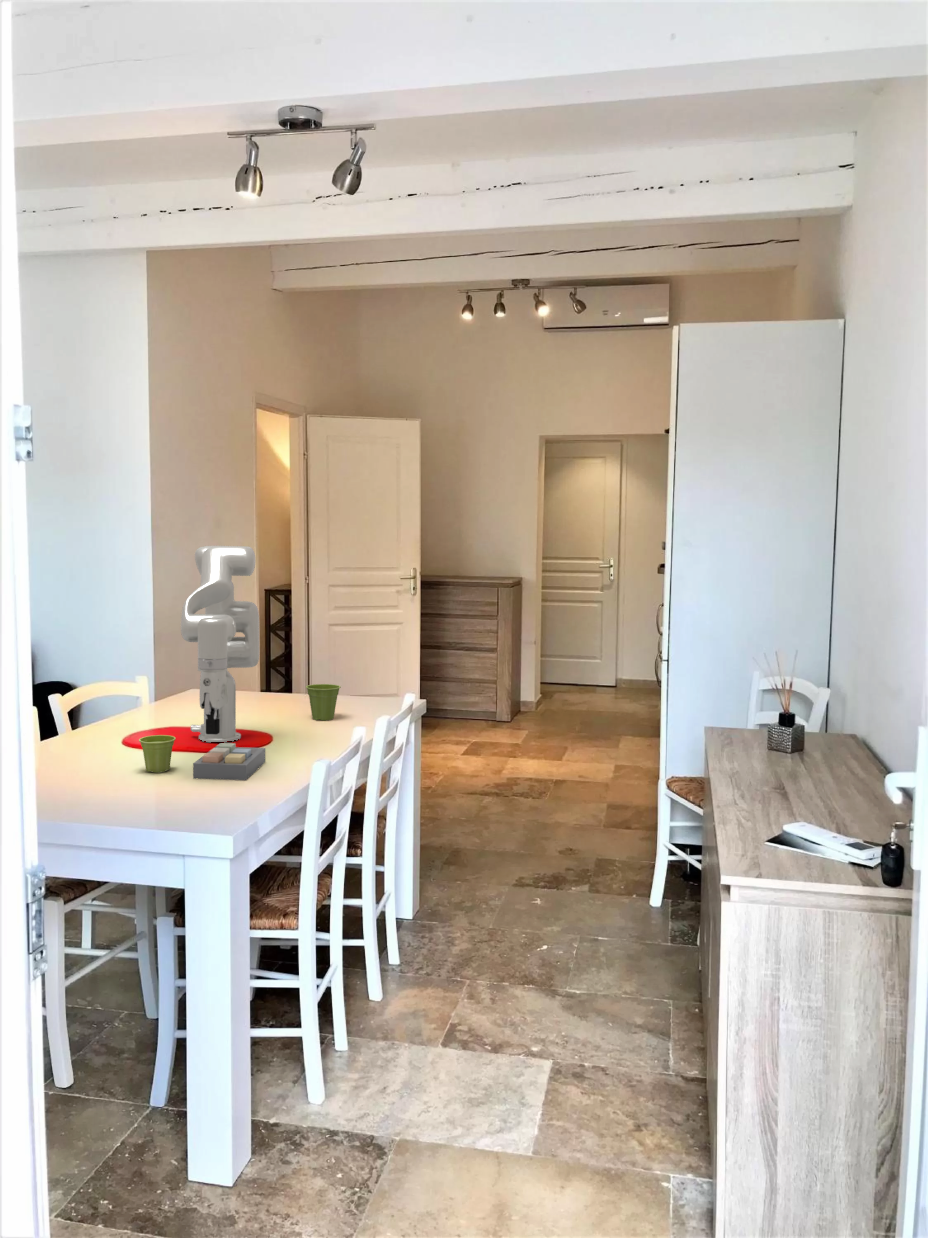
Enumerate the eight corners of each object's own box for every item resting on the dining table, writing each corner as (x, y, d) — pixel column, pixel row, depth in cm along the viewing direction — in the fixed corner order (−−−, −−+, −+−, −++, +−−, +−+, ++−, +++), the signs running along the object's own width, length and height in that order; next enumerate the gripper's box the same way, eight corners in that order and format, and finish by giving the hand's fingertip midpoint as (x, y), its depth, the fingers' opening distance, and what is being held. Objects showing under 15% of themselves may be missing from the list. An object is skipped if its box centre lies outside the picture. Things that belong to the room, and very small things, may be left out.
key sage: (216, 757, 279) (216, 746, 279) (220, 753, 283) (220, 742, 283) (231, 757, 279) (231, 746, 279) (235, 754, 283) (235, 743, 283)
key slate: (231, 763, 273) (231, 752, 273) (235, 759, 277) (235, 748, 277) (247, 763, 273) (246, 752, 272) (251, 759, 277) (251, 749, 277)
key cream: (209, 762, 273) (209, 751, 273) (214, 758, 277) (214, 747, 277) (224, 762, 273) (224, 751, 273) (229, 759, 277) (229, 748, 277)
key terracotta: (202, 767, 267) (202, 756, 267) (207, 763, 271) (207, 752, 271) (218, 768, 267) (218, 756, 267) (223, 764, 271) (222, 753, 271)
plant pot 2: (347, 718, 349) (347, 686, 348) (325, 723, 339) (325, 690, 338) (321, 714, 355) (321, 682, 354) (298, 719, 345) (298, 686, 344)
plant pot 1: (142, 776, 267) (142, 743, 266) (136, 768, 275) (136, 736, 274) (179, 772, 271) (178, 740, 270) (171, 764, 280) (171, 733, 279)
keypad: (193, 778, 266) (193, 763, 265) (216, 760, 286) (216, 746, 285) (246, 780, 265) (246, 765, 265) (265, 762, 285) (265, 748, 284)
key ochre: (225, 768, 267) (225, 757, 267) (229, 764, 271) (229, 753, 271) (240, 769, 267) (240, 757, 266) (245, 765, 271) (245, 754, 271)
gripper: (218, 669, 259) (218, 740, 260) (234, 661, 274) (234, 728, 275) (189, 668, 259) (189, 739, 261) (207, 660, 274) (207, 727, 276)
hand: (212, 733), depth 268 cm, fingers closed
